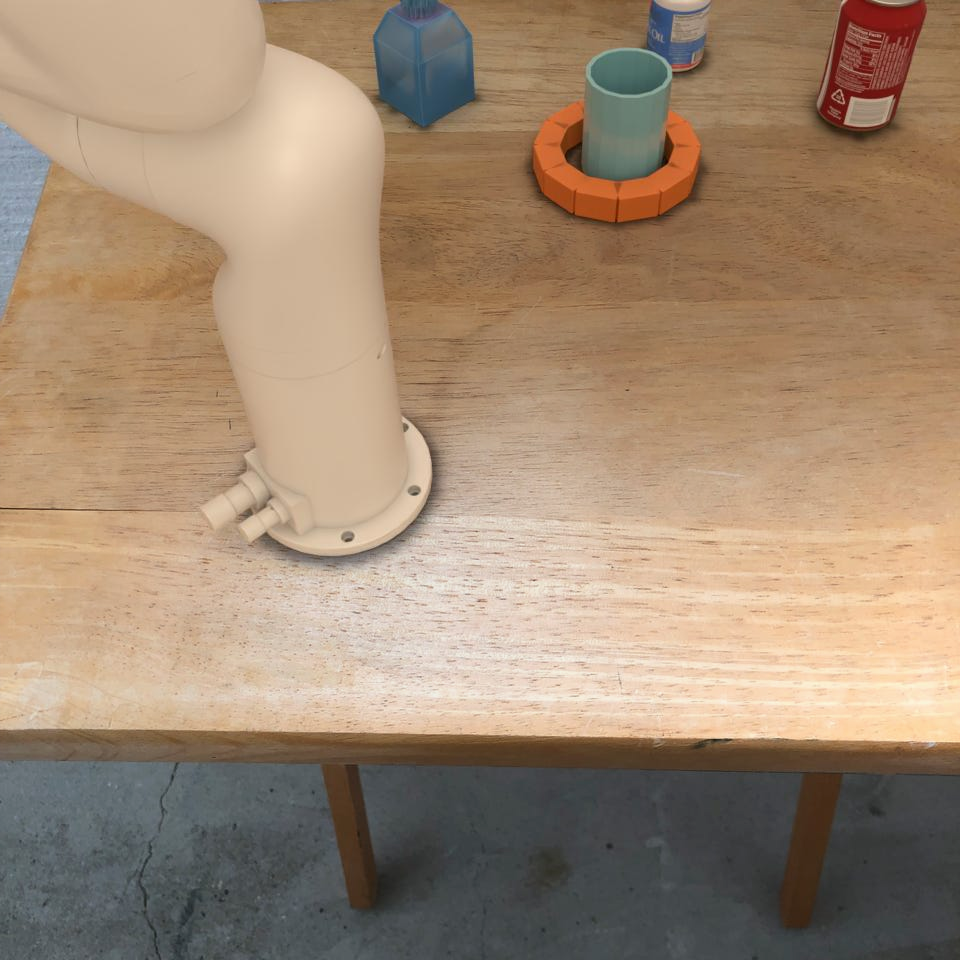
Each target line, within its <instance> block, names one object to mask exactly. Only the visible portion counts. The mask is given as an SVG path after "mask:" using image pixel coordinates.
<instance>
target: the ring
mask: <svg viewBox="0 0 960 960" xmlns="http://www.w3.org/2000/svg"><path fill="white" fill-rule="evenodd" d="M583 119H584V100H578V101H577V102H572V103H571V104H569V105H567V106H566V107H564V108H562V109H561V110H558V111H557V112H555V113H554V114H552V115H550V116H548V117H547V118H546V119H545V120H544V121H543V123H542V125H541V127H540V129H539V131H538V133H537V136H536V138H535V140H534V142H533V148H532V149H533V151H532V153H533V154H532V155H533V157H532V158H533V160H532V161H533V163H532V167H533V171H534V174H535V177H536V179H537V182H538V185H539V188H540V190H541V193H542V194H543V195H544V196H545V197H546V198H548V199H549V200H551V201H552V202H554V203H555V204H556V205H558V206H560V207H561V208H563V209H564V210H566V211H567V212H568V213H570V214H574V216H578V217H583V218H588V219H594V220H598V221H603V222H609V223H615V222H617V223H623V222H631V221H636V220H643V219H649V218H654V217H655V218H656V217H658V215H659V216H661V215H663V214H664V213H665V212H667V211H669V210H670V209H672V208H673V207H675V206H676V205H678V204H679V203H681V202H682V201H684V200H685V199H687V198H688V197H689V195H690V194H691V192H692V189H693V186H694V183H695V180H696V177H697V174H698V171H699V167H700V157H701V153H702V144H701V142H700V140H699V138H698V137H697V135H696V133H695V131H694V129H693V127H692V125H691V124H690V122H689V121H687V119H686V118H684V117H683V116H681V115H679V114H677V113H676V112H674V111H672V110H671V109H669V111H668V119H667V127H666V136H665V144H664V152H663V156H664V157H665V160H666V161H667V164H664V166H662V167H661V169H659V170H658V171H656V172H654V173H653V174H651V175H650V176H648V177H645V178H639V179H633V180H626V181H620V182H616V181H610V180H605V179H599V178H594V177H589V176H586V175H585V174H584V173H583V171H580V170H579V169H577V168H576V167H574V166H573V165H571V164H570V163H568V162H567V160H566V157H565V156H566V154H567V152H568V151H570V149H572V148H574V147H575V146H578V144H581V143H582V139H583Z"/></svg>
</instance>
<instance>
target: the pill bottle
mask: <svg viewBox="0 0 960 960" xmlns="http://www.w3.org/2000/svg"><path fill="white" fill-rule="evenodd" d="M711 4H712V0H650V2H649V14H648V21H647V22H648V23H647V31H646V42H645V50H648V51H652V52H654V53H656V54H658V55H660V56H661V57H663V58H665V59H666V61H667V62H668V63H669V65H670V66H671V67H672V73H674V72H675V73H678V72H685V71H689V70H692V69H694V68H695V67H697V66H698V65H699V64H700V62H701V61H702V59H703V56H704V52H705V45H706V39H707V38H706V37H707V32H708V31H707V30H708V26H709V25H708V24H709V18H710V12H711V11H710V10H711Z"/></svg>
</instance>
